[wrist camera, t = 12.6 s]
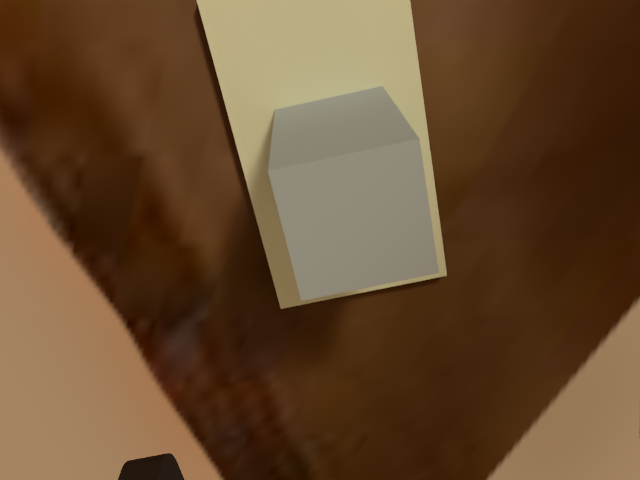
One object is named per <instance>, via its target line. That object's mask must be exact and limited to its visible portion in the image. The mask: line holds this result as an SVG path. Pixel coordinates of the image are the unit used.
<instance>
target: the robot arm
mask: <svg viewBox="0 0 640 480" xmlns="http://www.w3.org/2000/svg"><path fill="white" fill-rule="evenodd" d="M118 480H184V478H183V476H182V473H181V471H180V468H179V466H178V463H177V461H176V459H175V458H174V456H173V455H172V454H169V453H168V454H162V455H157V456H151V457H146V458H141V459H135V460H130V461H127V462H126V463H125V464H124V466H123V467H122V470H121V473H120V476H119V479H118Z"/></svg>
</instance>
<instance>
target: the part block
mask: <svg viewBox="0 0 640 480" xmlns="http://www.w3.org/2000/svg"><path fill="white" fill-rule="evenodd" d="M268 174H269V177H270V181H271V185H272V189H273V193H274V197H275V201H276V204H277V208H278V212H279V216H280V220H281V224H282V228H283V232H284V235H285V239H286V243H287V247H288V251H289V255H290V259H291V262H292V266H293V270H294V274H295V278H296V282H297V286H298V290H299V293H300V297H301V301H304V300H309V299H314V298H319V297H323V296H328V295H333V294H338V293H343V292H348V291H353V290H358V289H363V288H368V287H373V286H378V285H382V284H387V283H392V282H397V281H402V280H407V279H412V278H417V277H422V276H427V275H432V274H436V273H439V270H438V263H437V256H436V249H435V242H434V235H433V229H432V222H431V215H430V208H429V201H428V194H427V187H426V180H425V173H424V166H423V160H422V153H421V146H420V139H419V137H418V136H417V134H416V133H415V132H414V130H413V129H412V127H411V126H410V124H409V123H408V122H407V120H406V119H405V117H404V116H403V114H402V113H401V112H400V110H399V109H398V107H397V106H396V104H395V103H394V102H393V100H392V99H391V97H390V96H389V94H388V93H387V91H386V90H385V89H384V87H383V86H380V87H375V88H371V89H366V90H362V91H357V92H353V93H348V94H344V95H339V96H334V97H330V98H325V99H321V100H316V101H312V102H307V103H303V104H298V105H294V106H289V107H284V108H280V109H275V113H274V122H273V131H272V140H271V148H270V157H269V166H268Z"/></svg>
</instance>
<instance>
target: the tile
mask: <svg viewBox="0 0 640 480" xmlns="http://www.w3.org/2000/svg"><path fill="white" fill-rule="evenodd" d="M197 4H198V7H199V11H200V15H201V18H202V22H203V26H204V29H205V33H206V37H207V40H208V44H209V48H210V51H211V55H212V59H213V62H214V66H215V70H216V73H217V77H218V81H219V84H220V88H221V92H222V95H223V99H224V103H225V106H226V110H227V114H228V117H229V121H230V125H231V128H232V132H233V136H234V139H235V143H236V147H237V150H238V154H239V158H240V161H241V165H242V169H243V172H244V176H245V180H246V183H247V187H248V191H249V194H250V198H251V202H252V205H253V209H254V213H255V216H256V220H257V224H258V227H259V231H260V235H261V238H262V242H263V246H264V249H265V253H266V257H267V260H268V264H269V268H270V271H271V275H272V279H273V282H274V286H275V290H276V293H277V297H278V301H279V304H280V308H281V309H283V308H288V307H293V306H298V305H303V304H308V303H313V302H318V301H323V300H328V299H333V298H338V297H343V296H348V295H353V294H358V293H363V292H368V291H373V290H378V289H383V288H388V287H393V286H398V285H403V284H408V283H413V282H418V281H423V280H428V279H433V278H438V277H443V276H447V271H446V264H445V256H444V249H443V242H442V234H441V227H440V219H439V212H438V204H437V197H436V190H435V182H434V175H433V167H432V160H431V152H430V145H429V138H428V130H427V123H426V115H425V108H424V100H423V93H422V85H421V78H420V71H419V63H418V56H417V48H416V41H415V33H414V26H413V19H412V11H411V4H410V0H197ZM380 86H383V87H384V89H385V90H386V91H387V93H388V94H389V96H390V97H391V99H392V100H393V102H394V103H395V104H396V106H397V107H398V109H399V110H400V112H401V113H402V114H403V116H404V117H405V119H406V120H407V122H408V123H409V124H410V126H411V127H412V129H413V130H414V132H415V133H416V134H417V136H418V137H419V139H420V146H421V153H422V160H423V166H424V173H425V180H426V187H427V194H428V201H429V208H430V215H431V222H432V229H433V235H434V242H435V249H436V256H437V263H438V270H439V273H436V274H432V275H427V276H422V277H417V278H412V279H407V280H402V281H397V282H392V283H387V284H382V285H378V286H373V287H368V288H363V289H358V290H353V291H348V292H343V293H338V294H333V295H328V296H323V297H319V298H314V299H309V300H304V301H301V297H300V293H299V290H298V286H297V282H296V278H295V274H294V270H293V266H292V262H291V259H290V255H289V251H288V247H287V243H286V239H285V235H284V232H283V228H282V224H281V220H280V216H279V212H278V208H277V204H276V201H275V197H274V193H273V189H272V185H271V181H270V177H269V174H268V166H269V157H270V148H271V140H272V131H273V122H274V113H275V109H280V108H284V107H289V106H294V105H298V104H303V103H307V102H312V101H316V100H321V99H325V98H330V97H334V96H339V95H344V94H348V93H353V92H357V91H362V90H366V89H371V88H375V87H380Z"/></svg>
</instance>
